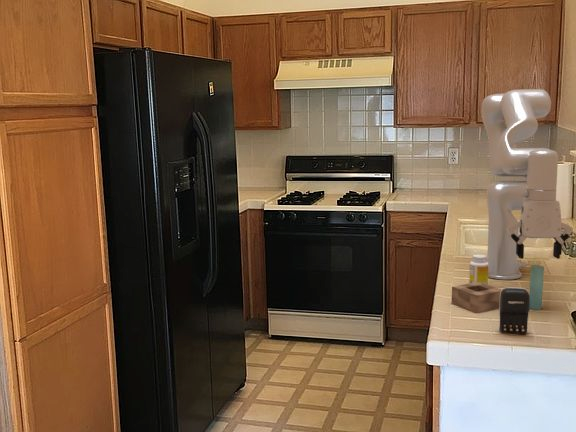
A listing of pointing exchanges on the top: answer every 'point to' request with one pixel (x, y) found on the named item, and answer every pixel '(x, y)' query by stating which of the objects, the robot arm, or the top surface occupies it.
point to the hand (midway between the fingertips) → (538, 257)
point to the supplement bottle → (479, 269)
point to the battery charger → (514, 310)
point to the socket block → (476, 297)
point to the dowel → (536, 287)
